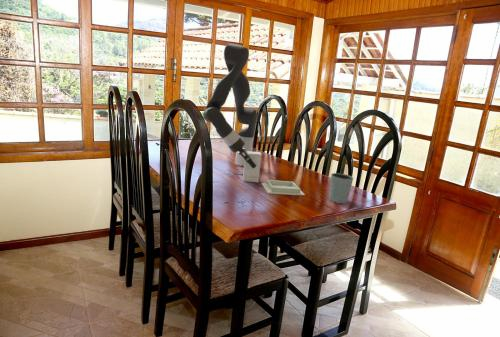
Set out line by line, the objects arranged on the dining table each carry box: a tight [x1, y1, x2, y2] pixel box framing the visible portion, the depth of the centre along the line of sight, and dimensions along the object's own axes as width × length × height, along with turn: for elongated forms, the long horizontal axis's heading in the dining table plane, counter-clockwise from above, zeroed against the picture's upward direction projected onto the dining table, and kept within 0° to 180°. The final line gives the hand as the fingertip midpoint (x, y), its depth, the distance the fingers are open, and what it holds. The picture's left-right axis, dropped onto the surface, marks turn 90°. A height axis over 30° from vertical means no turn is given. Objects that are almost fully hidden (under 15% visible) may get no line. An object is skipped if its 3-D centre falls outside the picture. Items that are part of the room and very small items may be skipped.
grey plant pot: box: [328, 172, 354, 204], centre depth 164 cm, size 10×10×12 cm
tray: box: [261, 179, 306, 196], centre depth 171 cm, size 14×18×3 cm
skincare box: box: [242, 150, 262, 183], centre depth 178 cm, size 8×6×15 cm
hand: (253, 165), depth 178 cm, fingers open, 8 cm apart
